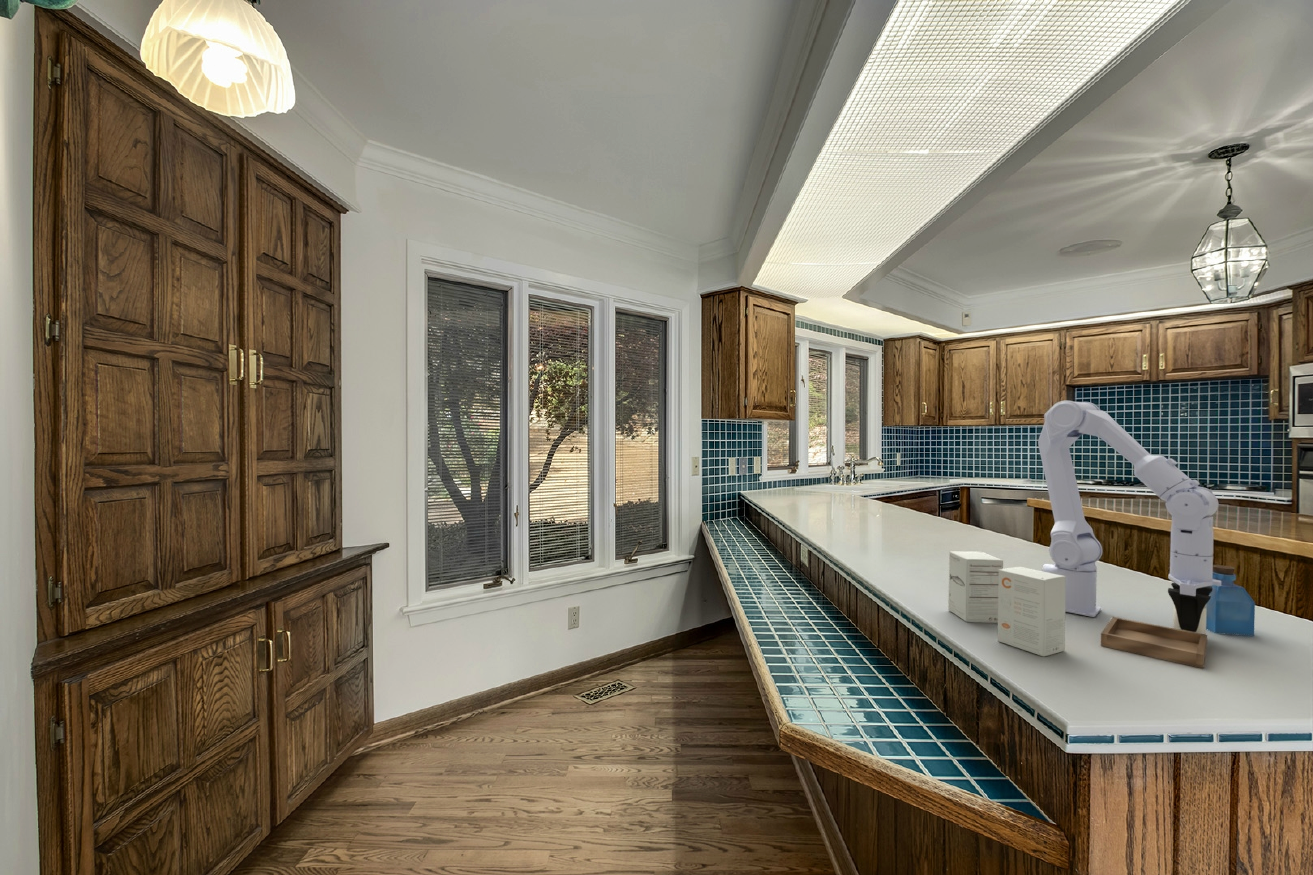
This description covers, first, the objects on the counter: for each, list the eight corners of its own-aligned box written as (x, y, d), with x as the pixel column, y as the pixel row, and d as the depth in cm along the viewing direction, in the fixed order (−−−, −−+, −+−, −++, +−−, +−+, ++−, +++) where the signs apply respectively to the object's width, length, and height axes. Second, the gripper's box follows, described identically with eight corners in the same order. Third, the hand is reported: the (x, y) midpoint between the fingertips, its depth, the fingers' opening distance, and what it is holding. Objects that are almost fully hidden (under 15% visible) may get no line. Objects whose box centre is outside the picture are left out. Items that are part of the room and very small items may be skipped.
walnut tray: (1100, 645, 100) (1101, 633, 100) (1112, 628, 109) (1113, 616, 109) (1202, 668, 91) (1203, 654, 91) (1206, 647, 100) (1207, 634, 100)
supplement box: (947, 610, 119) (948, 550, 119) (983, 611, 119) (984, 551, 119) (964, 622, 112) (966, 558, 112) (1003, 623, 112) (1004, 559, 111)
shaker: (1172, 636, 105) (1172, 599, 105) (1174, 631, 108) (1174, 594, 108) (1205, 643, 102) (1206, 604, 102) (1206, 637, 105) (1207, 599, 105)
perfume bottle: (1254, 635, 106) (1255, 571, 106) (1214, 633, 107) (1216, 569, 107) (1228, 624, 112) (1229, 564, 112) (1191, 622, 113) (1192, 562, 113)
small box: (1065, 651, 98) (1067, 575, 97) (1043, 657, 95) (1044, 579, 95) (1018, 635, 105) (1019, 565, 105) (996, 641, 102) (997, 568, 102)
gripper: (1220, 563, 97) (1218, 642, 97) (1223, 551, 107) (1221, 623, 107) (1165, 556, 102) (1163, 631, 102) (1172, 545, 112) (1170, 614, 112)
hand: (1189, 626), depth 105 cm, fingers open, 5 cm apart
